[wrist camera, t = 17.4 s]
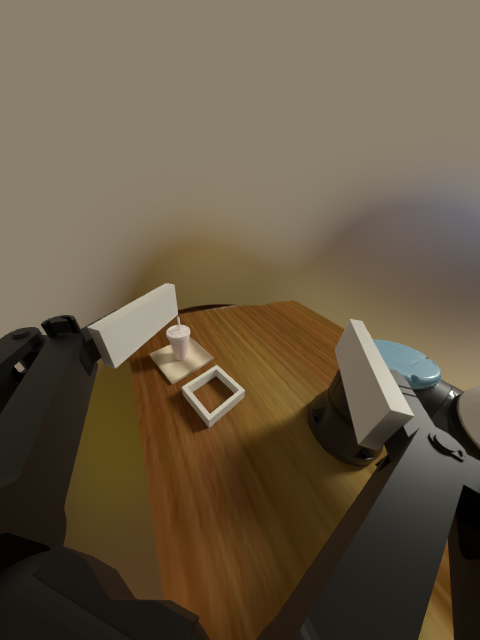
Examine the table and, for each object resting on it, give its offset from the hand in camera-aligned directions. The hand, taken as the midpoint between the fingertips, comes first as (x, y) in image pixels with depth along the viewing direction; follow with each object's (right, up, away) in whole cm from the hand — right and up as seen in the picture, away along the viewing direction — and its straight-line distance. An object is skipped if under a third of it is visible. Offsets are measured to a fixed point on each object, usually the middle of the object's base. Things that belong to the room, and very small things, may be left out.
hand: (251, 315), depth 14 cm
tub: (-8, -20, +32) cm, 39 cm away
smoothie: (-19, -12, +42) cm, 48 cm away
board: (-19, -12, +43) cm, 48 cm away
